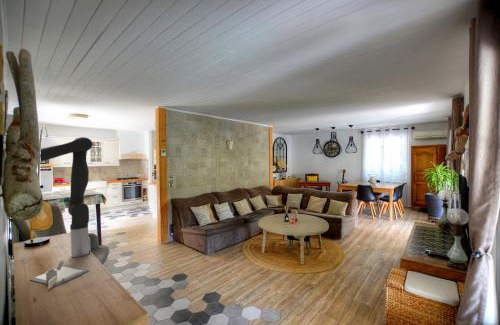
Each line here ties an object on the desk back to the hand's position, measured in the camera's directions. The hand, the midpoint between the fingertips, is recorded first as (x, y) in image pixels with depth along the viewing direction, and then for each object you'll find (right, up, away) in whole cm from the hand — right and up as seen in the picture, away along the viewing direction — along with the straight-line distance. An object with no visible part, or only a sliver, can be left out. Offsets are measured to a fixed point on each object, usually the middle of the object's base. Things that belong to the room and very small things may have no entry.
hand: (22, 219), depth 130 cm
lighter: (+28, -27, -12) cm, 41 cm away
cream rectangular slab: (+32, -27, -17) cm, 45 cm away
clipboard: (+27, -27, -7) cm, 39 cm away
